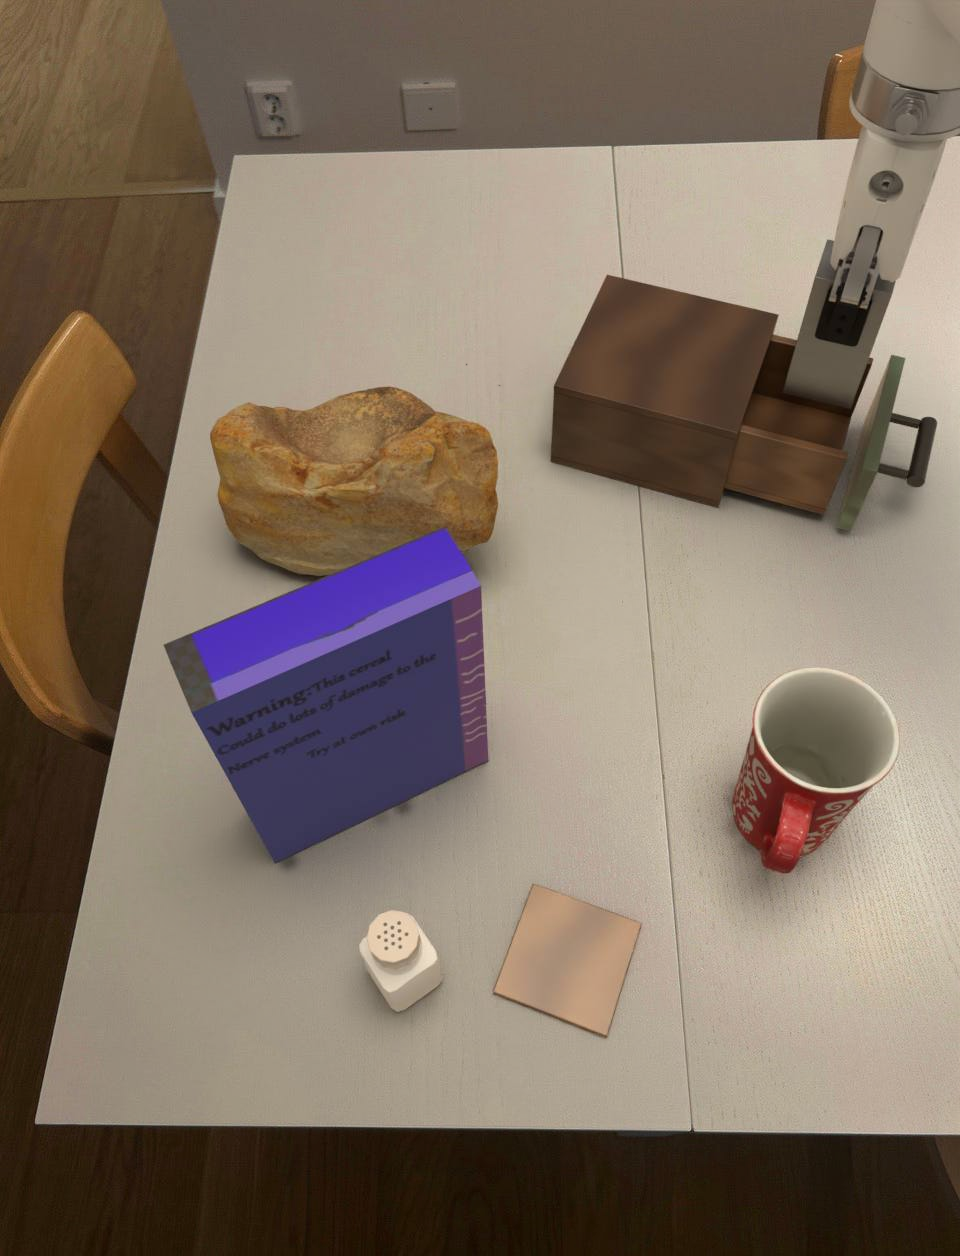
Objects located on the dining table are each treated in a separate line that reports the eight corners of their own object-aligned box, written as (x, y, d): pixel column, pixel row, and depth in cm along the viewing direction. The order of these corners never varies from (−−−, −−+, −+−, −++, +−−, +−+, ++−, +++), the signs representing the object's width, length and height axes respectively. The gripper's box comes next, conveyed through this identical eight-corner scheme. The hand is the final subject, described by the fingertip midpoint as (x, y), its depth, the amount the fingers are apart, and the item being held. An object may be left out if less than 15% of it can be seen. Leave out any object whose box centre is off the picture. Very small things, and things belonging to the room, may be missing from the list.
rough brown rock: (526, 467, 97) (525, 332, 85) (493, 608, 87) (487, 478, 76) (284, 441, 101) (251, 308, 89) (226, 574, 91) (180, 444, 79)
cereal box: (460, 712, 83) (444, 524, 63) (488, 761, 81) (481, 583, 60) (251, 809, 79) (162, 642, 59) (275, 863, 77) (190, 710, 57)
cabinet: (757, 393, 100) (779, 314, 92) (718, 508, 93) (738, 433, 85) (599, 354, 104) (606, 274, 95) (550, 461, 96) (553, 385, 88)
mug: (740, 736, 81) (778, 645, 70) (857, 782, 79) (916, 696, 68) (684, 881, 76) (715, 808, 64) (809, 936, 73) (864, 870, 62)
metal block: (860, 371, 87) (902, 254, 78) (850, 409, 85) (892, 293, 75) (794, 356, 88) (827, 238, 79) (782, 392, 86) (814, 276, 77)
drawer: (925, 433, 96) (956, 369, 89) (900, 545, 89) (932, 485, 83) (723, 382, 100) (738, 318, 93) (685, 486, 93) (698, 425, 87)
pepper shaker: (365, 968, 73) (347, 927, 65) (414, 934, 74) (402, 890, 66) (397, 1017, 71) (382, 982, 63) (446, 982, 72) (438, 943, 64)
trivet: (641, 924, 74) (641, 922, 74) (606, 1037, 70) (606, 1036, 70) (532, 885, 76) (533, 883, 75) (493, 993, 72) (492, 991, 71)
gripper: (960, 176, 61) (872, 405, 76) (996, 26, 69) (910, 259, 84) (829, 152, 62) (768, 381, 78) (879, 8, 71) (815, 240, 86)
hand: (843, 315), depth 81 cm, fingers closed on metal block, 4 cm apart
